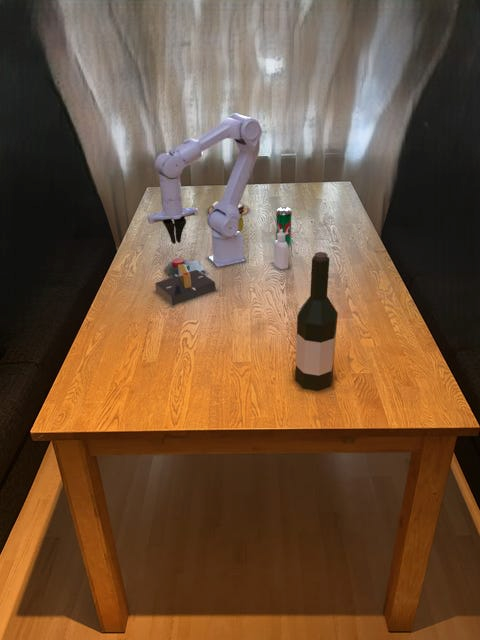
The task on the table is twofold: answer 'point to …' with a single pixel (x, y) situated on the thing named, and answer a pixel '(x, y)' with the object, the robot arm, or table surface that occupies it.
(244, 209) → the sushi roll
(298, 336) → the wine bottle
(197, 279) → the block
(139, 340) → the table surface
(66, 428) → the table surface
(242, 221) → the lemon
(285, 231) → the soda can
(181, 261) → the button
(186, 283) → the gold rectangular bar
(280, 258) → the eye dropper bottle
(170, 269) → the button box
